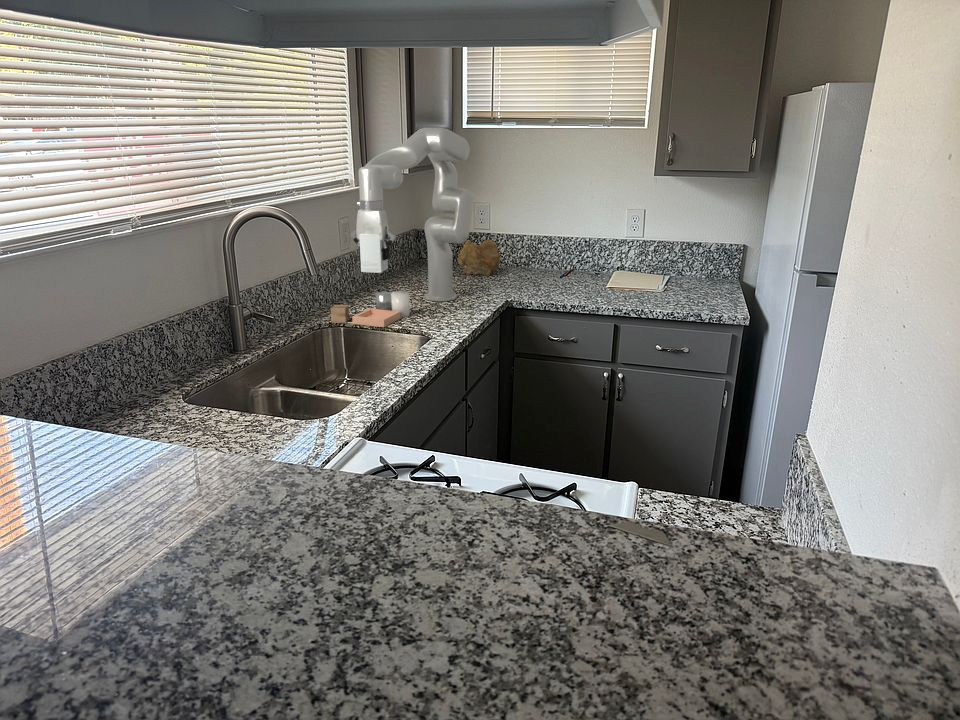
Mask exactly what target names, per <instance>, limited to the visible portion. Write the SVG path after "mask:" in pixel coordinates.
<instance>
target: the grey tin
mask: <svg viewBox="0 0 960 720" xmlns="http://www.w3.org/2000/svg"><path fill="white" fill-rule="evenodd" d="M391 293H392V292H389V291H380V292H377V293H375V309H380V310H390V311H391V310H392V302H391Z"/></svg>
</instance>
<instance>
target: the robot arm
mask: <svg viewBox="0 0 960 720" xmlns="http://www.w3.org/2000/svg"><path fill="white" fill-rule="evenodd" d="M470 151H471V149H470V145H469V143H468V141H467V139H465V138H464V137H463V136H461V135H459V134H457V133H455V132H454V131H452V130H450V129H447V128H445V127H421V128H419V129H418V130H416V131H415V132H414V133H413V134H412V135H411V136H410V137H408V138H407V139H406V140H405V141H403V143H402V144H400V145H399V146H396V147H393V148H391V149H389V150H386V151H384V152H382V153H379V154H378V155H376V156H374V157H373V158H372V159H370V160H369V161H368V162H367V163H366V164H365V165H364V166H360V168H359V169H358V187H359V188H358V189H359V201H357V202H356V206H359V209H358V210H357V215H356V229H354V230H352V232H350V237H351V238H352V239H353V242H354V243H355V244H356V246H357V247H358V255H359V256H360V237H359V235H360V234H371V235H380V241H382V246H383V248H382V259H383V260H387V259H388V260H389V258H390V248H391V246H392V245H393V244H394V242H395V240H396V238H397V235H396V234H395V233H394V232H392V231H391V230H390V229H389V221H388V215H387V213H386V210H385V209H384V192H383V191H384V190H383V189H396V188H398V187H400V186H401V184H402V183H403V181H404V174H403V171H404V170H409V169H411V168H414V167H416V166H418V164H419V163H421V161H423V160H424V159H425V158H426V157H428V158H429V160H430V162H431V163H432V166H433V169H434V176H435V177H434V184H433V185H434V186H433V193H432V202H431V203H432V204H431V205H432V209H433V210H434V211H435V212H438V213H441V214H443V213H444V214H452V215H454V217H452V216H444V215H443V216H442V215H435V216H431V217H429V218H428V219H426V221H425V223H424V234H425V239H426V248H427V279H428V280H427V285H428V288H427V289H428V291H427V293H425V294H424V299H425V300H427V301H430V302H449V301H454V300H457V298H458V297H457V294H456V293H454V290H455V287H456V286H455V284H454V282H453V280H454V279H453V278H454V276H453V269H454V268H453V265H454V264H453V263H454V262H453V251H452V248H451V246H450V244H460V245H461V244H464V243H466V241H468V239H469V236H470V231H471V225H472V224H471V223H472V218H473V210H474V199H473V194H472V193H471V191H470V190H468V189H466V188H462V187H458V181H459V180H458V179H459V178H458V176H459V175H458V171H457V168H456V166H455V165H454V163H462V162H465V161H466V160H467V159H468V158H469V155H470ZM389 237H390V238H389ZM359 259H360V260H361V258H360V257H359ZM453 289H454V290H453Z"/></svg>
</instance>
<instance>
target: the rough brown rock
mask: <svg viewBox="0 0 960 720" xmlns="http://www.w3.org/2000/svg"><path fill="white" fill-rule="evenodd" d="M464 243H465V244H464V246H463V247H462V248H461V249H460V251H459V254H458V257H457V263H458V264H459V265H460V266H461V267H462V269H463V271H464V273H465V274H466V275H472V274H474V275H480V274H481V275H482V276H486V277H489V276H491V275H492V274H493V273H494V272H496V271H497V270H498V268H499V266H500V264H501V255H500V250H499V249H498V245H497V243H496V242H495V241H493V240H491V239H485V240H484V241H482V243H481V244H479V245H477V244H476V245H475V244H474V243H473V242H472V241H471V240H466V241H465V242H464Z"/></svg>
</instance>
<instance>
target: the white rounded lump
mask: <svg viewBox="0 0 960 720" xmlns="http://www.w3.org/2000/svg"><path fill="white" fill-rule="evenodd" d="M390 293H391V302H392V311H399V312H400V318H407V317H410V315H411V307H410V306H411V305H410V304H411V303H410V299H411V298H410V291H405V290H396V291H392V292H390Z"/></svg>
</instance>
